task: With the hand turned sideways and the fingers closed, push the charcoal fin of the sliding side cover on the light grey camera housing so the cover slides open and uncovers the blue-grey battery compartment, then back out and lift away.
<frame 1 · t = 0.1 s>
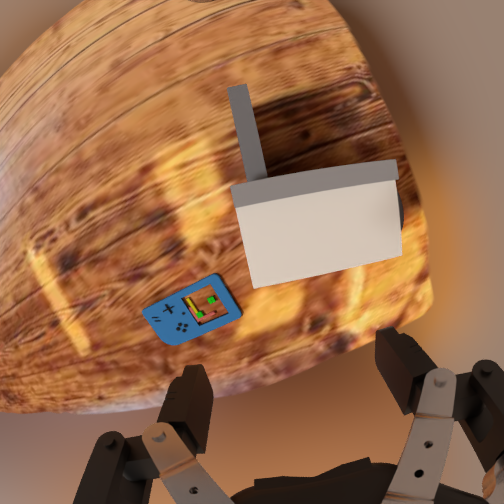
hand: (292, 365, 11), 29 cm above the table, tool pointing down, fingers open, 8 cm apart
side door: (295, 135, 29), point 7 cm above the table, slide at 0.0 cm
handheld gaming device: (190, 311, 44), on the table
camera housing: (302, 213, 39), on the table
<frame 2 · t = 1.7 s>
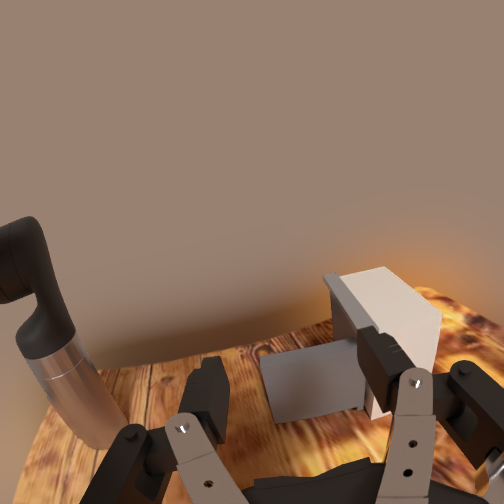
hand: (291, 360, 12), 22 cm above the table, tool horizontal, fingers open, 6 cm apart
side door: (308, 356, 34), point 7 cm above the table, slide at 0.0 cm
camera housing: (379, 374, 35), on the table
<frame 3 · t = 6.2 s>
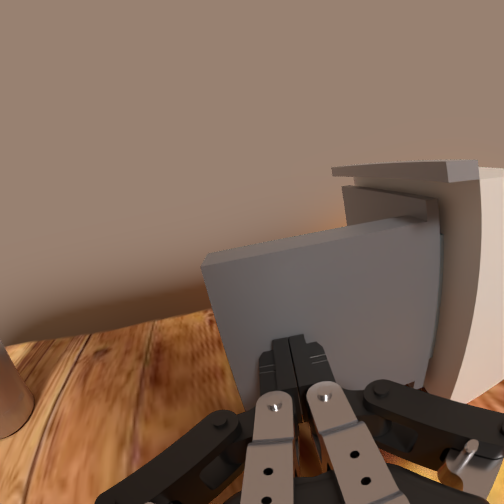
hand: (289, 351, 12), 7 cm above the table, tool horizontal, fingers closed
side door: (315, 288, 19), point 7 cm above the table, slide at 1.0 cm, touching gripper
camera housing: (435, 337, 19), on the table
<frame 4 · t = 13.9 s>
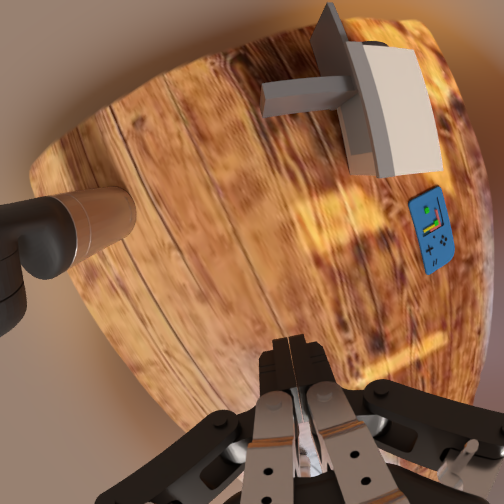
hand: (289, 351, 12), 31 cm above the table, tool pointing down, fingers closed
side door: (295, 61, 29), point 7 cm above the table, slide at 9.0 cm
handheld gaming device: (432, 230, 43), on the table
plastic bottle: (297, 456, 59), on the table
camera housing: (363, 124, 38), on the table
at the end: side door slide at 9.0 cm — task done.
